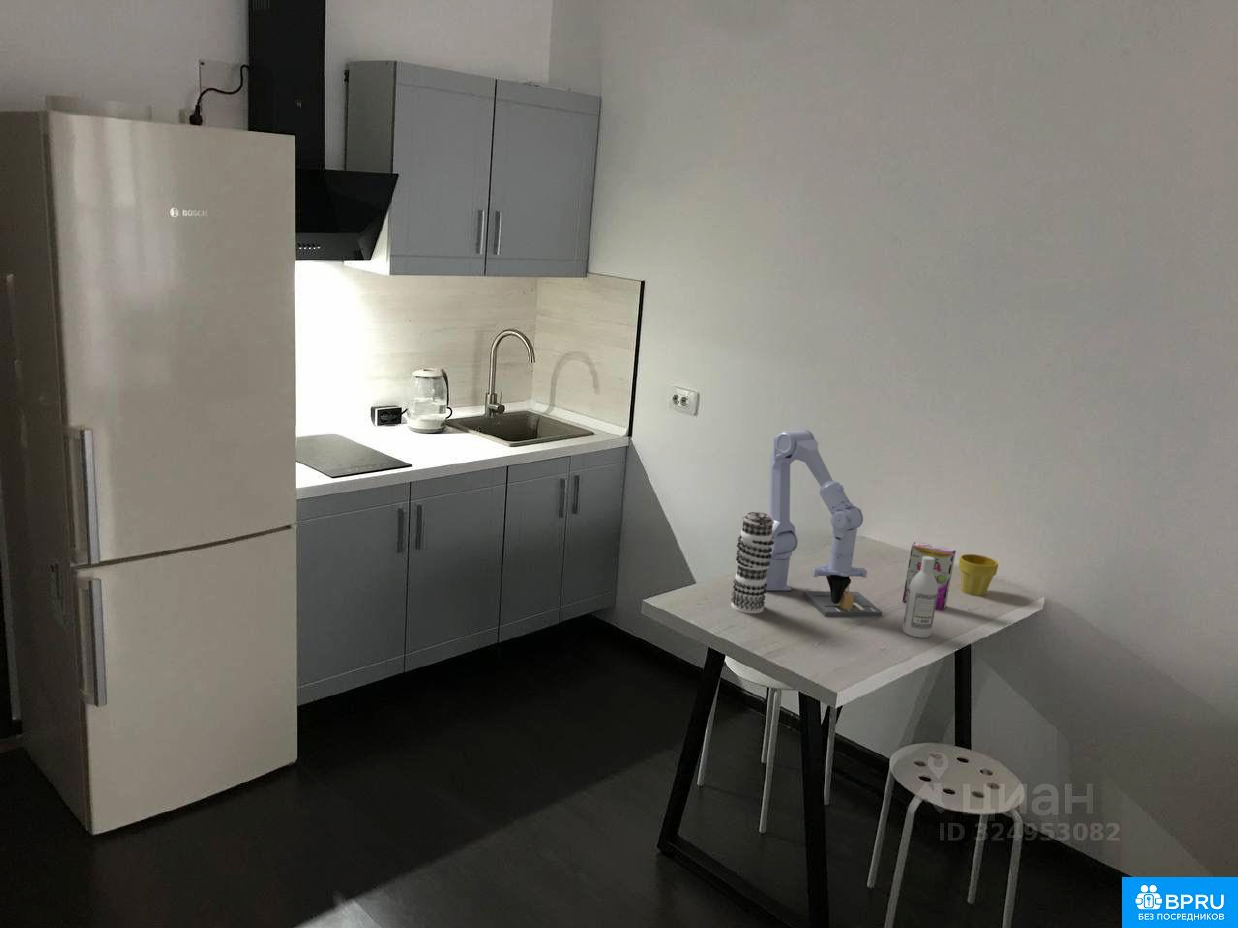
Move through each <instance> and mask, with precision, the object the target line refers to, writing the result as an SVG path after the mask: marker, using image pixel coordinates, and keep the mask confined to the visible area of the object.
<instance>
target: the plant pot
mask: <svg viewBox="0 0 1238 928" xmlns="http://www.w3.org/2000/svg"><path fill="white" fill-rule="evenodd" d="M998 567H999V563H998V560H996V559H994V558H992V557H988V556H986V555H983V554H982V555H981V554H973V553H966V554H965V553H964V554H962V555H960V557H959V562H958V569H959V570H960V581H961V582H960V583H961V585H960V586H961V588H960V589H961V591H962V592H963V593H965V594H968V595H970V596H976V597H977V596H978V597H981V596H984V595H986V594H987V591H988V590H989V586H990V585H991V583H992V580H993V578H994V576H996V575H997V573H998V572H997V571H998V569H999V568H998Z"/></svg>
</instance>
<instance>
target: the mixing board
mask: <svg viewBox="0 0 1238 928" xmlns="http://www.w3.org/2000/svg"><path fill="white" fill-rule="evenodd" d="M850 592H851V593H852V594H854V600H853V606H852V609H842V608H841V607H840V606H839V605H838V604H834V603H833V602H832V601H831V592H830V591H825V590H824V591H821V590H820V591H819V590H816V591H815V590H814V591H813V590H812V591H809V590H807V591H805V590H803V592H802V596H803V597H804V598H805V599H806V600H807V601H808V602H809V603H811V605H812V606H813V607H815V608H816V609H817V610H818V611H819V612H820V614H822V615H823V616H824V617H864V618H865V617H871V618H872V617H873V618H874V617H876V618H877V617H879V618H880V617H881V618H882V617H883V611H882V610H881V609H879V607H877V606H876V605H875V604H873V603H872V602H871V601H870V600H869V599H868V598H866V597H865V596H864V595H863V594H861V593H860V592H859V591H850Z"/></svg>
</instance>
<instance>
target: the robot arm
mask: <svg viewBox="0 0 1238 928" xmlns="http://www.w3.org/2000/svg"><path fill="white" fill-rule="evenodd" d="M795 460H797V461H799V462H803V463H805V465H806V467H808V469H809V471H810V473H811V474H812V476H813V477H814V478H815V481H817V483H818V484H819V486H820V490H819V495H820V497H821V498H822V500H823V502H824V504H825V506H826V507H827V509H828V511H829V512H830V514H831V517H830V523H831V526H832V534H833V535H832V540H831V541H832V543H831V549H830V553H829V555H830V556H829V563H828V565H825V566H824V565H823V566H816V567H812V568H811V575H812V576H813V577H815V578H816V577H817V578H818V577H826V580H827V584H828V587H829V590H830V592H831V601H832V602H833V603H834V604H839V601H840V599H841V597H842V595H843V593H844V591H845V589H846V588H847V587H848V585H849V586H850V584H851V583H852V579H851V578H850V577H858V578H859V577H860V578H867V573H868V570H867V569H866V568H864V567H856V566H855V567H853V566H852V565H853V560H854V559H853V558H854V552H855V547H856V546H855V545H856V539H857V538H856V537H857V531H858V529H859V528H860V526H861V525H862V524H863V522H864V516H863V513H862V510H861V509H860V508H859V507H857V506H856V505H854V504H853V503H852V502H851V501H850V500H849V497H848V495H847V494H846V492H845V488H844V486H843V485H842V484H841V483H840V482H839V481H836V480H835V481H834V480H833V478H832V477H831V474H830V472H829V469H828V468H827V466H826V464H825V461H824V460H823V457H822V455H821V454H820V451H819V442H818V440H816V438H815V435H814V434H813V433H812V431H810V430H809V429H801V430H794V431H792V430H791V431H781V432H780V433H779V434H777V435H776V436H775V437H774V438H773V447H772V450H771V452H770V456H769V501H768V502H769V503H768V504H769V506H768V507H769V514H768V515H769V516H770V518H771V520H773V521H774V524H773V527H772V537H774V538H773V539H771V540H772V541H773V542H774V544H773V545H770V546H769V547H770V548H771V549H772V552H770V554H771V558H769V559H768V561H769V562H770V565H769V568H767V573H766V577H767V579H766V584H767V587H766V588H765V589H766V591H778V592H779V591H784V592H785V591H789V592H790V591H792V588H791V587H790V586H789V585H788V584H787V583H788V577H789V576H788V575H789V568H790V561H791V556H792V555H793V552H794V551H796V550H797V548H798V544H799V541H798V536H797V533H796V526H795V525H794V524H793V523H792V522H791V520H790V518H791V517H790V516H791V513H790V511H791V510H790V509H791V464H792V463H794V461H795Z"/></svg>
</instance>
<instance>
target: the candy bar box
mask: <svg viewBox="0 0 1238 928" xmlns="http://www.w3.org/2000/svg"><path fill="white" fill-rule="evenodd" d="M910 550H911V551H910V555H909V561H908V567H907V572H906V573H907V574H906V577H905V578H906V579H905V584H904V591H903V595H902V602H903V603H907V597H908V591H909V586H910V583H911V581H912V579H913V578H914V576H915V575H916V574H917V573H918V572H919V571H920V570H921V563H922V558H923V556H930V557H933V558H934V559H935V561H934V567H933V575H934V577H935V579H936V581H937V585H938V595H937V601H936V607H935V610H937V611H938V610H939V611H942V612H943V611H944V610H945V608H946V606H947V602H948V596H949V591H950V584H951V579H952V575H953V574H952V573H953V568H954V561H955V556H956V552H957V551H956V549H952V548H947V547H943V546H939V545H933V544H929V543H924V542H918V541H914V542H913V544H912V545H911V548H910Z"/></svg>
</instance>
